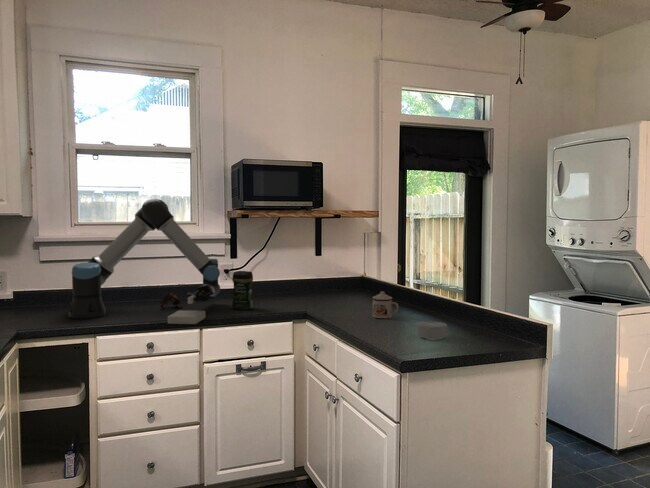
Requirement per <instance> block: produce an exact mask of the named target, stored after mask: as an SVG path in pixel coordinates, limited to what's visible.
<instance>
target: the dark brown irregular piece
mask: <svg viewBox="0 0 650 488" xmlns="http://www.w3.org/2000/svg"><path fill="white" fill-rule="evenodd" d="M158 302H159V305H160V308H162V309H163V308H164V306H165V305H169V302H172V304H173V306H177V308H178V309H179V310H181V308H182V303H181V300H180V299H179V295H178V294H176V293H174V294H173V292H171V293H170V292H169V293H168V294H166V295H165V296H162V298H161V299H160V300H159V301H158Z"/></svg>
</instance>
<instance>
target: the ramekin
mask: <svg viewBox="0 0 650 488" xmlns="http://www.w3.org/2000/svg"><path fill="white" fill-rule="evenodd" d="M416 327H417V335H418V337H419V336H420V337H423V338H429V339H438V338H444V339H445V337H446V332H447V328H448V324H447V323H444V322H440V321H430V320H428V321H427V320H424V321H423V320H422V321H418V322H417V323H416ZM420 337H419V338H420Z"/></svg>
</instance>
